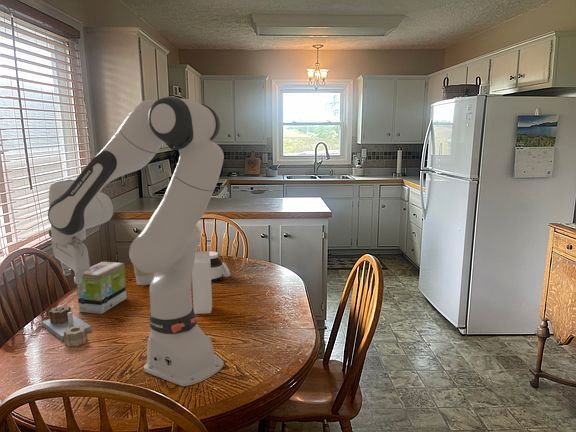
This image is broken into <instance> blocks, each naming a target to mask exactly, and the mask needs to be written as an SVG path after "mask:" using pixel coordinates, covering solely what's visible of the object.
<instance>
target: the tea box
mask: <svg viewBox="0 0 576 432" xmlns="http://www.w3.org/2000/svg"><path fill="white" fill-rule="evenodd" d="M125 267H126V266H125V263H124V262H113V261H101V262H99V263H96V264H93V265H91V266H90V268H89V270H88V271H84V273H83V276H82V283H80V284H76V287H77V289H76V290H77V302H78V311H79V312H80V313H89V314H99V315H103V314H105V313H106V312H107V311H108V310H110V309H112V308H113V307H115V306H117V305H119V303H121V302H124V301H125V300H127V285H126V270H125V269H126V268H125Z"/></svg>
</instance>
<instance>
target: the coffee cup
mask: <svg viewBox="0 0 576 432" xmlns="http://www.w3.org/2000/svg"><path fill="white" fill-rule="evenodd" d="M133 270H134V275H135V279H136V280H135V281H136V285H138V286H150V283H151V281H152V279H153V277H154V274H155V272H154V273H144V272H142V271H140V270H138V269H137V268H136V267H135V266H134V265H133Z"/></svg>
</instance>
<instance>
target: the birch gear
mask: <svg viewBox="0 0 576 432" xmlns="http://www.w3.org/2000/svg"><path fill="white" fill-rule="evenodd" d="M63 341H64V345H66V347H67V348H68V347H78V346H80V345H85V344H86V343H87V342H86V341H89V339H88V332H87V329H86V327H84V325H81V326H77V325H76V326H73V327H71V328H67V329H66V331H64V340H63Z"/></svg>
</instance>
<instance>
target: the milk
mask: <svg viewBox="0 0 576 432" xmlns="http://www.w3.org/2000/svg"><path fill="white" fill-rule="evenodd" d="M209 252H210V251H204V250H203V251H196V254H195V260H194V266H193V272H192V279H191V285H192V300H193V302H192V306H193V310H194V312H195V315H201V314H202V315H205V314H211V313H212V310H213V296H212V295H213V294H212V293H213V292H212V291H213V290H212V282H211V263H210V256H209Z"/></svg>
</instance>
